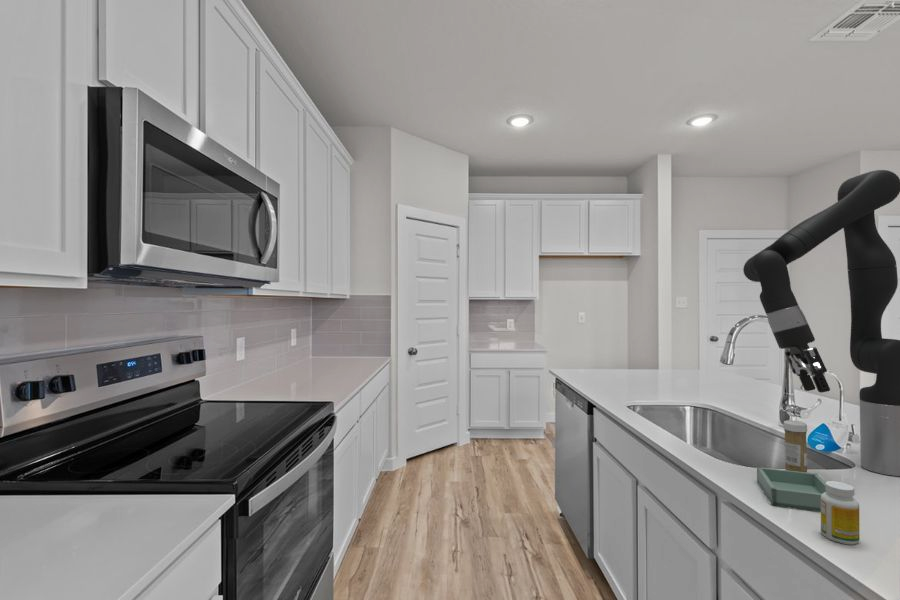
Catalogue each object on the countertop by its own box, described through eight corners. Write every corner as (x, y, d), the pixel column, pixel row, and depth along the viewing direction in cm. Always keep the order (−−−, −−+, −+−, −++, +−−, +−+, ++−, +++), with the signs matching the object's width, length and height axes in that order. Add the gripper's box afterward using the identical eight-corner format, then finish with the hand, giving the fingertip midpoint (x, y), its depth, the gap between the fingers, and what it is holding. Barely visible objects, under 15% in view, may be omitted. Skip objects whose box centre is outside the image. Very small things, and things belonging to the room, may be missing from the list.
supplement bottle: (813, 532, 84) (812, 481, 84) (835, 528, 86) (834, 477, 86) (845, 547, 79) (844, 492, 79) (867, 543, 80) (866, 489, 81)
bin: (757, 481, 108) (756, 466, 108) (817, 488, 104) (817, 473, 104) (772, 505, 96) (771, 488, 96) (841, 514, 91) (841, 497, 91)
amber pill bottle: (813, 480, 109) (812, 424, 109) (796, 481, 108) (795, 425, 108) (796, 473, 113) (795, 419, 113) (779, 474, 112) (778, 420, 113)
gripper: (818, 319, 106) (849, 388, 102) (796, 325, 119) (822, 386, 115) (782, 329, 108) (811, 396, 104) (764, 333, 121) (789, 393, 117)
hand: (817, 391), depth 109 cm, fingers open, 8 cm apart
